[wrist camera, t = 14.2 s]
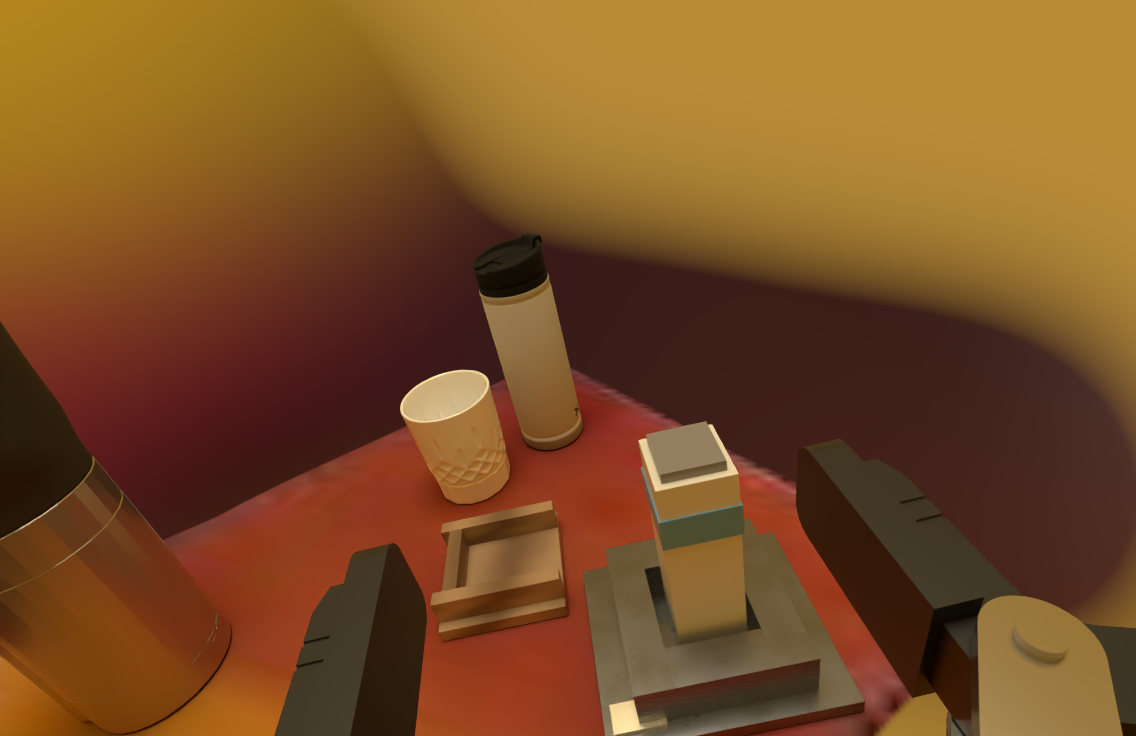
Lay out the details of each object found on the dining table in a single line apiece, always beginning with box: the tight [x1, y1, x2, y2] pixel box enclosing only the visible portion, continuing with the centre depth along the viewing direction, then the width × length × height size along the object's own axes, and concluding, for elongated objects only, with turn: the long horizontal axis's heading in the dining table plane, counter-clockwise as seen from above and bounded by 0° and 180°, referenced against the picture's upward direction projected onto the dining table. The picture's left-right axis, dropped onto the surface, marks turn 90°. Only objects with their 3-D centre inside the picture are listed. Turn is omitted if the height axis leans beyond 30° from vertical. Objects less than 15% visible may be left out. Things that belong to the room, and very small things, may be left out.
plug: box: [639, 422, 747, 646], centre depth 31 cm, size 4×4×15 cm
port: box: [583, 519, 865, 736], centre depth 34 cm, size 14×12×4 cm
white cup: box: [400, 370, 510, 504], centre depth 50 cm, size 8×8×10 cm
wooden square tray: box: [431, 501, 568, 641], centre depth 42 cm, size 9×9×3 cm
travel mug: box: [472, 233, 583, 450], centre depth 52 cm, size 6×7×20 cm
